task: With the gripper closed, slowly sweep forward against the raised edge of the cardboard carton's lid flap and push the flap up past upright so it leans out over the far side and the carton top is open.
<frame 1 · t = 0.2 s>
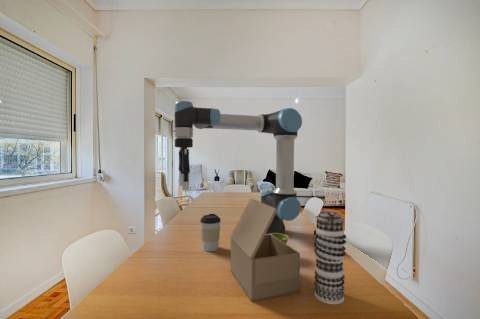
hand: (183, 187, 108), 28 cm above the table, tool pointing down, fingers open, 13 cm apart
carton: (262, 280, 85), on the table
plant pot: (277, 257, 104), on the table
decorative candle: (328, 296, 75), on the table
flap: (251, 224, 83), point 19 cm above the table, hinge at 60.0°
coffee cup: (210, 249, 113), on the table
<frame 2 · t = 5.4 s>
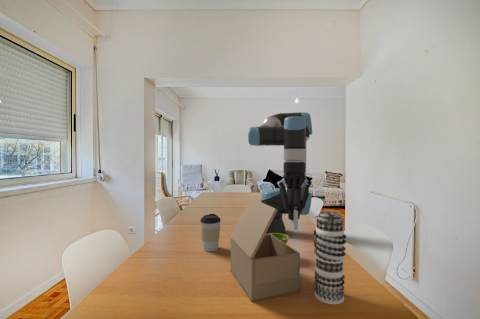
hand: (293, 228, 88), 16 cm above the table, tool pointing down, fingers closed
nothing on the table moved.
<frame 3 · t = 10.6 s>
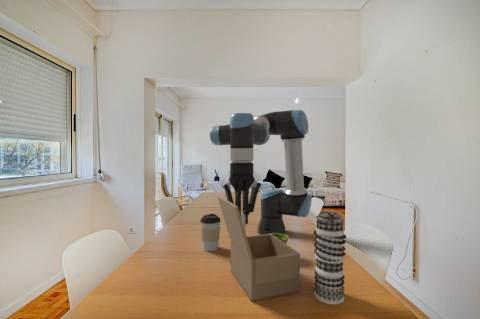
hand: (241, 234, 82), 16 cm above the table, tool pointing down, fingers closed
flap: (233, 224, 81), point 20 cm above the table, hinge at 107.0°, touching gripper, hand
everything else where it was.
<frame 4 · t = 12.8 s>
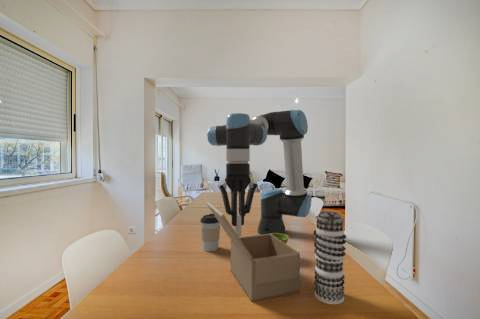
hand: (237, 235, 81), 16 cm above the table, tool pointing down, fingers closed
flap: (227, 227, 80), point 19 cm above the table, hinge at 123.4°
everything else where it was.
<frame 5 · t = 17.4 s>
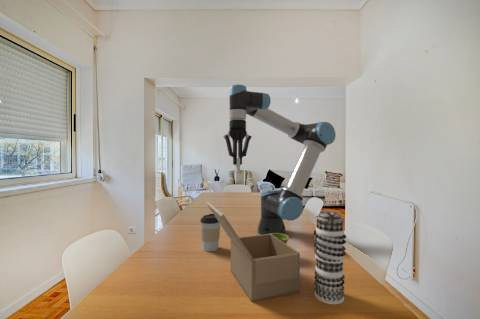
hand: (237, 171, 115), 34 cm above the table, tool pointing down, fingers closed
nothing on the table moved.
at the end: flap at +123° (first picture: +60°) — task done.
